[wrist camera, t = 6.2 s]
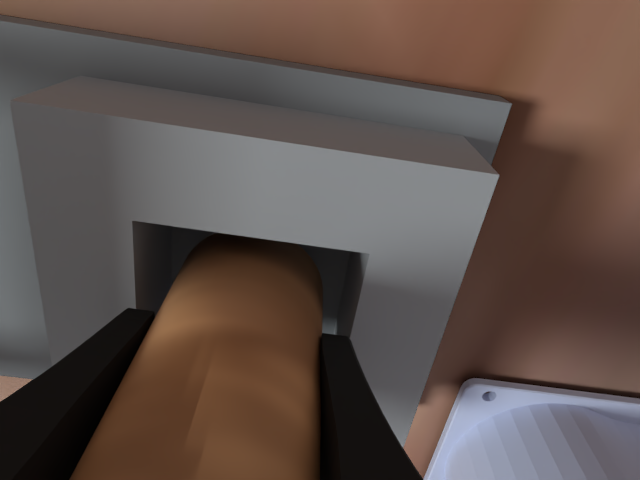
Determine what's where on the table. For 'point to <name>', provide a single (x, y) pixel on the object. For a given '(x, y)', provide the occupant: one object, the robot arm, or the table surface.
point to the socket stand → (232, 190)
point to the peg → (222, 373)
